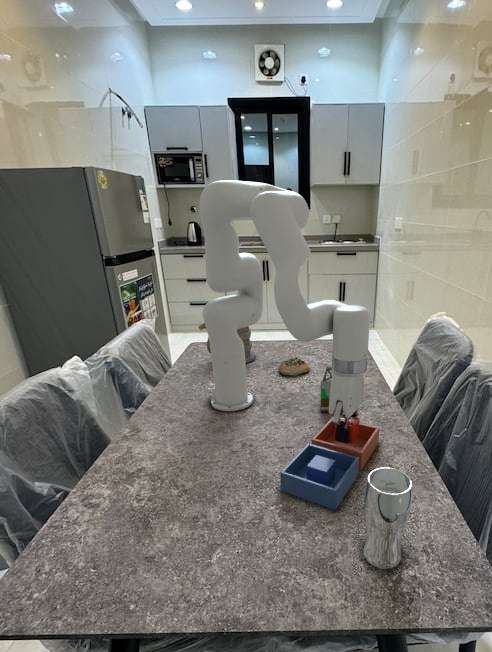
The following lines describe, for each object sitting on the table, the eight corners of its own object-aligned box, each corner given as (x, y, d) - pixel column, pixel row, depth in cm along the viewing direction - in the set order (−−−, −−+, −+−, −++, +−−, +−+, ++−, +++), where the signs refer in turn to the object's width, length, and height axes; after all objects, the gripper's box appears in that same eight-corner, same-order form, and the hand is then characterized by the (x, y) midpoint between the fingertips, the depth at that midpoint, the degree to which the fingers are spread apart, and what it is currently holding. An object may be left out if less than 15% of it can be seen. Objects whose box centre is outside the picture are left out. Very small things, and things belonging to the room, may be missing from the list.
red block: (333, 439, 90) (334, 422, 88) (341, 430, 93) (342, 414, 91) (352, 444, 88) (352, 426, 86) (358, 434, 91) (359, 418, 89)
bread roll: (290, 362, 146) (291, 350, 144) (314, 371, 141) (315, 359, 138) (271, 372, 138) (272, 359, 136) (296, 383, 133) (297, 370, 130)
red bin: (311, 455, 90) (311, 439, 88) (332, 431, 99) (333, 416, 98) (361, 470, 84) (362, 453, 82) (378, 443, 94) (379, 427, 92)
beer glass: (356, 539, 66) (361, 467, 60) (395, 536, 67) (404, 465, 61) (366, 573, 60) (373, 497, 54) (410, 570, 61) (421, 494, 54)
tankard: (254, 353, 157) (252, 317, 151) (253, 363, 146) (250, 325, 140) (205, 354, 156) (201, 318, 150) (200, 365, 145) (195, 327, 139)
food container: (341, 416, 107) (343, 383, 103) (320, 414, 108) (320, 381, 104) (345, 397, 118) (346, 367, 114) (325, 395, 119) (326, 365, 115)
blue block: (306, 483, 80) (306, 465, 78) (316, 472, 83) (316, 454, 81) (326, 490, 78) (326, 472, 76) (335, 478, 81) (335, 460, 79)
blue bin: (280, 490, 78) (280, 472, 77) (307, 459, 88) (307, 443, 86) (335, 510, 73) (336, 491, 71) (358, 475, 83) (359, 457, 81)
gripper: (347, 350, 91) (345, 417, 99) (316, 374, 78) (316, 450, 85) (378, 354, 88) (373, 424, 95) (351, 380, 75) (347, 459, 82)
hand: (346, 435), depth 90 cm, fingers closed on red block, 4 cm apart
